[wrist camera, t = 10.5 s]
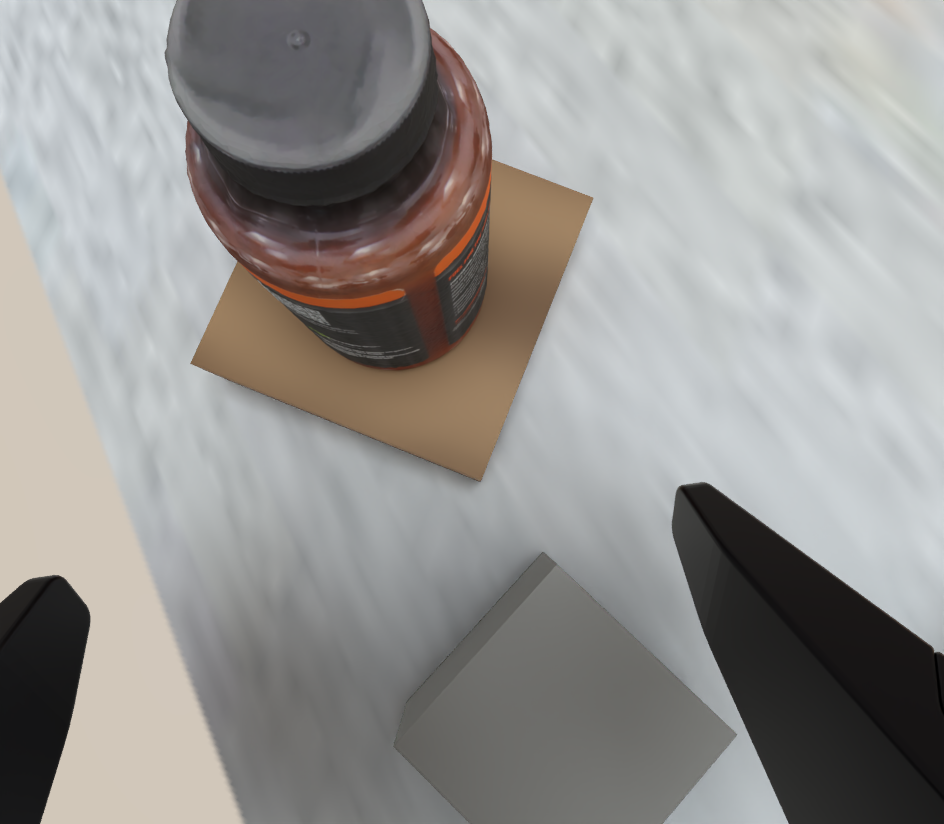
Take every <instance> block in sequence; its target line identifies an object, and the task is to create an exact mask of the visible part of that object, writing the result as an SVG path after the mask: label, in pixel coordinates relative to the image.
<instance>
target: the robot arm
mask: <svg viewBox="0 0 944 824" xmlns="http://www.w3.org/2000/svg"><path fill="white" fill-rule="evenodd" d="M672 533H673V538H674V541H675V544H676V547H677V550H678V554H679V557H680V560H681V563H682V566H683V569H684V573H685V576H686V579H687V582H688V585H689V588H690V591H691V595H692V598H693V601H694V604H695V607H696V610H697V614H698V617H699V620H700V623H701V626H702V628H703V631H704V634H705V636H706V639H707V641H708V644H709V646H710V649H711V651H712V653H713V655H714V657H715V660H716V662H717V664H718V666H719V669H720V671H721V673H722V675H723V678H724V680H725V682H726V684H727V687H728V689H729V691H730V693H731V695H732V698H733V700H734V702H735V704H736V707H737V709H738V711H739V713H740V716H741V718H742V720H743V722H744V724H745V727H746V729H747V731H748V733H749V736H750V738H751V740H752V742H753V745H754V747H755V749H756V751H757V754H758V756H759V758H760V760H761V762H762V765H763V767H764V769H765V771H766V774H767V776H768V778H769V780H770V783H771V785H772V787H773V789H774V792H775V794H776V796H777V798H778V800H779V803H780V805H781V807H782V809H783V812H784V814H785V816H786V818H787V821H788V823H789V824H944V655H943V654H942V653H940V652H935V653H934V649H933V647H932V646H931V645H929V644H928V643H926V642H925V641H924V640H922V639H921V638H920V637H918V636H917V635H916V634H914V633H913V632H911V631H910V630H909V629H907V628H906V627H905V626H903V625H902V624H900V623H899V622H898V621H896V620H895V619H894V618H892V617H891V616H890V615H888V614H887V613H885V612H884V611H883V610H881V609H880V608H879V607H877V606H876V605H874V604H873V603H872V602H870V601H869V600H868V599H866V598H865V597H864V596H862V595H861V594H859V593H858V592H857V591H855V590H854V589H853V588H851V587H850V586H848V585H847V584H846V583H844V582H843V581H842V580H840V579H839V578H838V577H836V576H835V575H833V574H832V573H831V572H829V571H828V570H827V569H825V568H824V567H822V566H821V565H820V564H818V563H817V562H816V561H814V560H813V559H812V558H810V557H809V556H807V555H806V554H805V553H803V552H802V551H801V550H799V549H798V548H796V547H795V546H794V545H792V544H791V543H790V542H788V541H787V540H786V539H784V538H783V537H781V536H780V535H779V534H777V533H776V532H775V531H773V530H772V529H770V528H769V527H768V526H766V525H765V524H764V523H762V522H761V521H760V520H758V519H757V518H755V517H754V516H753V515H751V514H750V513H749V512H747V511H746V510H744V509H743V508H742V507H740V506H739V505H738V504H736V503H735V502H734V501H732V500H731V499H729V498H728V497H727V496H725V495H724V494H723V493H721V492H720V491H718V490H717V489H716V488H714V487H713V486H712V485H710V484H708V483H705V482H700V483H693V484H686V485H681V486H679V487H678V489H677V491H676V496H675V504H674V511H673V518H672ZM89 627H90V612H89V610H88V607H87V605H86V604H85V603H84V602H83V600H82V599H81V598H80V597H79V595H78V594H77V593H76V592H75V591H74V589H73V588H72V587H71V585H70V584H69V583H68V582H67V580H66V579H64V578H63V577H61V576H59V575H52V576H45V577H38V578H32V579H30V580H27V581H26V582H24V583H23V584H22V585H20V586H19V587H18V588H17V589H16V590H15V591H14V592H12V593H11V594H10V595H9V596H8V597H7V598H5V599H4V600H3V601H2V602H1V603H0V824H40V822H41V819H42V816H43V813H44V810H45V806H46V803H47V800H48V797H49V793H50V790H51V787H52V783H53V780H54V777H55V774H56V770H57V767H58V764H59V760H60V757H61V754H62V751H63V748H64V744H65V741H66V737H67V734H68V730H69V727H70V722H71V718H72V714H73V709H74V704H75V699H76V694H77V689H78V684H79V679H80V673H81V669H82V664H83V658H84V653H85V648H86V643H87V638H88V633H89Z"/></svg>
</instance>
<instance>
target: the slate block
mask: <svg viewBox="0 0 944 824" xmlns="http://www.w3.org/2000/svg"><path fill="white" fill-rule="evenodd" d="M736 736H737V734H736V733H735V732H734V731H733V730H732V729H731V728H730V727H729V726H728V725H727V724H726V723H725V722H724V721H723V720H721V719H720V718H719V717H718V716H717V715H716V714H715V713H714V712H713V711H712V710H711V709H710V708H709V707H708V706H707V705H706V704H704V703H703V702H702V701H701V700H700V699H699V698H698V697H697V696H696V695H695V694H694V693H693V692H692V691H691V690H690V689H689V688H688V687H686V686H685V685H684V684H683V683H682V682H681V681H680V680H679V679H678V678H677V677H676V676H675V675H674V674H673V673H672V672H671V671H670V670H668V669H667V668H666V667H665V666H664V665H663V664H662V663H661V662H660V661H659V660H658V659H657V658H656V657H655V656H654V655H653V654H652V653H650V652H649V651H648V650H647V649H646V648H645V647H644V646H643V645H642V644H641V643H640V642H639V641H638V640H637V639H636V638H635V637H634V636H632V635H631V634H630V633H629V632H628V631H627V630H626V629H625V628H624V627H623V626H622V625H621V624H620V623H619V622H618V621H617V620H616V619H614V618H613V617H612V616H611V615H610V614H609V613H608V612H607V611H606V610H605V609H604V608H603V607H602V606H601V605H600V604H599V603H597V602H596V601H595V600H594V599H593V598H592V597H591V596H590V595H589V594H588V593H587V592H586V591H585V590H584V589H583V588H582V587H581V586H579V585H578V584H577V583H576V582H575V581H574V580H573V579H572V578H571V577H570V576H569V575H568V574H567V573H566V572H565V571H564V570H563V569H561V568H560V567H559V566H558V565H557V564H556V563H555V562H554V561H553V560H552V559H550V558H549V557H548V556H547V555H546V554H545V553H544V552H542V553H541V555H540V556H539V557H538V558H537V559H536V560H535V561H534V562H533V563H532V565H531V566H530V567H529V568H528V569H527V570H526V571H525V572H524V573H523V574H522V576H521V577H520V578H519V579H518V580H517V581H516V582H515V583H514V584H513V585H512V587H511V588H510V589H509V590H508V591H507V592H506V593H505V594H504V595H503V596H502V598H501V599H500V600H499V601H498V602H497V603H496V604H495V605H494V606H493V608H492V609H491V610H490V611H489V612H488V613H487V614H486V615H485V616H484V617H483V619H482V620H481V621H480V622H479V623H478V624H477V625H476V626H475V627H474V628H473V630H472V631H471V632H470V633H469V634H468V635H467V636H466V637H465V638H464V639H463V641H462V642H461V643H460V644H459V645H458V646H457V647H456V648H455V649H454V650H453V652H452V653H451V654H450V655H449V656H448V657H447V658H446V659H445V660H444V662H443V663H442V664H441V665H440V666H439V667H438V668H437V669H436V670H435V671H434V673H433V674H432V675H431V676H430V677H429V678H428V679H427V680H426V681H425V682H424V684H423V685H422V686H421V687H420V688H419V689H418V690H417V691H416V692H415V693H414V695H413V696H412V697H411V698H410V699H409V700H408V701H407V703H406V706H405V709H404V712H403V716H402V719H401V722H400V726H399V729H398V732H397V735H396V739H395V742H394V745H393V747H394V748H395V749H396V750H397V751H398V752H399V753H400V754H401V755H402V756H403V757H404V758H405V759H406V760H407V761H408V762H409V763H410V764H411V765H412V766H413V767H414V768H415V769H416V770H417V771H418V772H419V773H420V774H421V775H422V776H423V777H424V778H425V779H426V780H427V781H428V782H429V783H430V784H431V785H432V786H433V787H434V788H435V789H436V790H437V791H438V792H439V793H440V794H441V795H442V796H443V797H444V798H445V799H446V800H447V801H448V802H449V803H450V804H451V805H452V806H453V807H454V808H455V809H456V810H457V811H458V812H459V813H460V814H461V815H462V816H463V817H464V818H465V819H466V820H467V821H468V822H469V823H470V824H663V823H664V821H665V820H666V819H667V818H668V817H669V815H670V814H671V813H672V812H673V811H674V809H675V808H676V807H677V806H678V805H679V804H680V802H681V801H682V800H683V799H684V798H685V796H686V795H687V794H688V793H689V792H690V790H691V789H692V788H693V787H694V786H695V784H696V783H697V782H698V781H699V780H700V779H701V777H702V776H703V775H704V774H705V773H706V771H707V770H708V769H709V768H710V767H711V765H712V764H713V763H714V762H715V761H716V759H717V758H718V757H719V756H720V755H721V754H722V752H723V751H724V750H725V749H726V748H727V746H728V745H729V744H730V743H731V742H732V740H733V739H734V738H735V737H736Z"/></svg>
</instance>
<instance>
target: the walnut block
mask: <svg viewBox="0 0 944 824" xmlns="http://www.w3.org/2000/svg"><path fill="white" fill-rule="evenodd" d="M491 174H492V179H491V200H490V224H489V245H488V248H489V252H488V273H487V286H486V290H485V295H484V299H483V303H482V307H481V310H480V312H479V314H478V316H477V318H476V321H475V322H474V324H473V325H472V327H471V329H470V330H469V331H468V333H467V334H466V336H465V337H464V338H463V339H462V340H461V341H460V342H459V343H458V344H457V345H456V346H455V347H454V348H453V349H451V350H450V351H449V352H447V353H446V354H444V355H442V356H441V357H439V358H438V359H436V360H433V361H431V362H429V363H427V364H424V365H421V366H418V367H414V368H410V369H404V370H381V369H376V368H371V367H366V366H363V365H360V364H357V363H355V362H353V361H351V360H348V359H347V358H345V357H344V356H342V355H340V354H339V353H337V352H336V351H334V350H333V349H331V348H330V347H329V346H327V345H326V344H325V343H324V342H323V341H322V340H321V339H320V338H318V337H317V336H316V335H315V334H314V333H313V332H312V331H311V330H309V329H308V328H307V327H306V326H305V324H304V323H302V322H301V321H300V320H299V319H298V318H297V317H296V316H295V315H294V314H293V313H292V312H291V311H290V310H289V309H287V308H286V307H285V306H284V304H282V303H281V302H280V301H279V300H277V299H276V298H275V297H274V296H273V295H272V294H271V293H270V292H269V291H268V290H267V289H266V288H264V286H263V285H261V284H260V283H259V282H258V280H257V279H255V278H254V277H253V276H252V275H251V274H250V273H249V272H248V271H247V270H246V269H245V268H244V267H243V266H242V265H241V264H240V263H239V262H237V264H236V266H235V268H234V270H233V272H232V275H231V277H230V279H229V281H228V283H227V285H226V288H225V290H224V292H223V294H222V296H221V298H220V301H219V303H218V305H217V307H216V309H215V311H214V314H213V316H212V318H211V320H210V322H209V324H208V327H207V329H206V331H205V333H204V335H203V337H202V340H201V342H200V344H199V346H198V348H197V350H196V353H195V355H194V357H193V359H192V361H191V363H190V364H193V365H195V366H197V367H199V368H202V369H204V370H206V371H209V372H211V373H213V374H215V375H218V376H220V377H222V378H225V379H227V380H229V381H232V382H234V383H237V384H239V385H242V386H244V387H247V388H249V389H252V390H254V391H257V392H259V393H262V394H264V395H267V396H269V397H271V398H274V399H276V400H279V401H281V402H284V403H286V404H289V405H291V406H294V407H296V408H299V409H301V410H304V411H306V412H309V413H311V414H314V415H316V416H319V417H321V418H323V419H326V420H328V421H331V422H333V423H336V424H338V425H341V426H343V427H346V428H348V429H351V430H353V431H356V432H358V433H361V434H363V435H366V436H368V437H371V438H373V439H376V440H378V441H380V442H383V443H385V444H388V445H390V446H393V447H395V448H398V449H400V450H403V451H405V452H408V453H410V454H413V455H415V456H418V457H420V458H423V459H425V460H428V461H430V462H432V463H435V464H437V465H440V466H442V467H445V468H447V469H450V470H452V471H455V472H457V473H460V474H462V475H465V476H467V477H470V478H472V479H475V480H477V481H481V479H482V477H483V474H484V472H485V469H486V467H487V464H488V462H489V459H490V457H491V454H492V452H493V449H494V447H495V444H496V442H497V439H498V437H499V434H500V432H501V429H502V427H503V424H504V422H505V419H506V417H507V414H508V411H509V409H510V406H511V404H512V401H513V399H514V396H515V394H516V391H517V389H518V386H519V384H520V381H521V379H522V376H523V374H524V371H525V369H526V366H527V364H528V361H529V359H530V356H531V354H532V351H533V349H534V346H535V344H536V341H537V339H538V336H539V334H540V331H541V329H542V326H543V323H544V321H545V318H546V316H547V313H548V311H549V308H550V306H551V303H552V301H553V298H554V296H555V293H556V291H557V288H558V286H559V283H560V281H561V278H562V276H563V273H564V271H565V268H566V266H567V263H568V261H569V258H570V256H571V253H572V251H573V248H574V246H575V243H576V240H577V238H578V235H579V233H580V230H581V228H582V225H583V223H584V220H585V218H586V215H587V213H588V210H589V208H590V205H591V203H592V200H593V197H590V196H587V195H585V194H582V193H579V192H577V191H574V190H571V189H569V188H566V187H564V186H561V185H558V184H556V183H553V182H550V181H548V180H545V179H542V178H540V177H537V176H535V175H532V174H529V173H527V172H524V171H521V170H519V169H516V168H513V167H511V166H508V165H505V164H503V163H500V162H498V161H495V160H492V168H491Z"/></svg>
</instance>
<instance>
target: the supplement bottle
mask: <svg viewBox="0 0 944 824" xmlns="http://www.w3.org/2000/svg"><path fill="white" fill-rule="evenodd" d="M165 59H166V63H167V66H168V76H169V81H170V84H171V88H172V91H173V94H174V96H175V99H176V101H177V103H178V105H179V107H180V108H181V110H182V112H183V113H184V115H185V117H186V118H187V120H188V121H187V131H186V150H185V152H186V160H187V175H188V177H189V180H190V184H191V188H192V191H193V194H194V197H195V199H196V202H197V204H198V206H199V208H200V211H201V213H202V215H203V216H204V218H205V220H206V222H207V224H208V225H209V227H210V228H211V230H212V231H213V232H214V234H215V235H216V237H217V238H218V239H219V240H220V242H221V243H222V244H223V246H224V247H225V248H226V249H227V250H228V252H229V253H230V254H231V255H232V256H233V257H234V258H235V259H236V260H237V261H238V262H239V263H240V264H241V265H242V266H243V267H244V268H245V269H246V270H247V271H248V272H249V273H250V274H251V275H252V276H253V277H254V278H255V279H257V280H258V282H259V283H260V284H261V285H263V286H264V288H266V289H267V290H268V291H269V292H270V293H271V294H272V295H273V296H274V297H275V298H276V299H277V300H279V301H280V302H281V303H282V304H284V306H285V307H286V308H287V309H289V310H290V311H291V312H292V313H293V314H294V315H295V316H296V317H297V318H298V319H299V320H300V321H301V322H302V323H304V324H305V326H306V327H307V328H308V329H309V330H311V331H312V332H313V333H314V334H315V335H316V336H317V337H318V338H320V339H321V340H322V341H323V342H324V343H325V344H326V345H327V346H329V347H330V348H331V349H333V350H334V351H336V352H337V353H339V354H340V355H342V356H344V357H345V358H347V359H348V360H351V361H353V362H355V363H357V364H360V365H363V366H366V367H371V368H376V369H381V370H404V369H410V368H414V367H418V366H421V365H424V364H427V363H429V362H431V361H433V360H436V359H438V358H439V357H441V356H442V355H444V354H446V353H447V352H449V351H450V350H451V349H453V348H454V347H455V346H456V345H457V344H458V343H459V342H460V341H461V340H462V339H463V338H464V337H465V336H466V334H467V333H468V331H469V330H470V329H471V327H472V325H473V324H474V322H475V321H476V318H477V316H478V314H479V312H480V310H481V307H482V303H483V299H484V295H485V290H486V286H487V273H488V252H489V248H488V245H489V224H490V200H491V179H492V174H491V168H492V141H491V134H490V129H489V120H488V116H487V111H486V107H485V105H484V102H483V99H482V96H481V94H480V92H479V89H478V87H477V84H476V82H475V80H474V79H473V77H472V75H471V73H470V71H469V70H468V68H467V67H466V65H465V63H464V61H463V60H462V58H461V57H460V56H459V55H458V54H457V53H456V51H455V50H454V49H453V48H452V47H451V45H450V44H449V43H448V42H447V41H446V40H445V39H444V38H442V37H441V36H440V35H439V34H438V33H436V32H435V31H434V30H432V29H431V28H430V25H429V19H428V16H427V13H426V10H425V7H424V4H423V2H422V0H177V1H176V4H175V6H174V9H173V13H172V16H171V19H170V24H169V30H168V35H167V49H166V51H165Z"/></svg>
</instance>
